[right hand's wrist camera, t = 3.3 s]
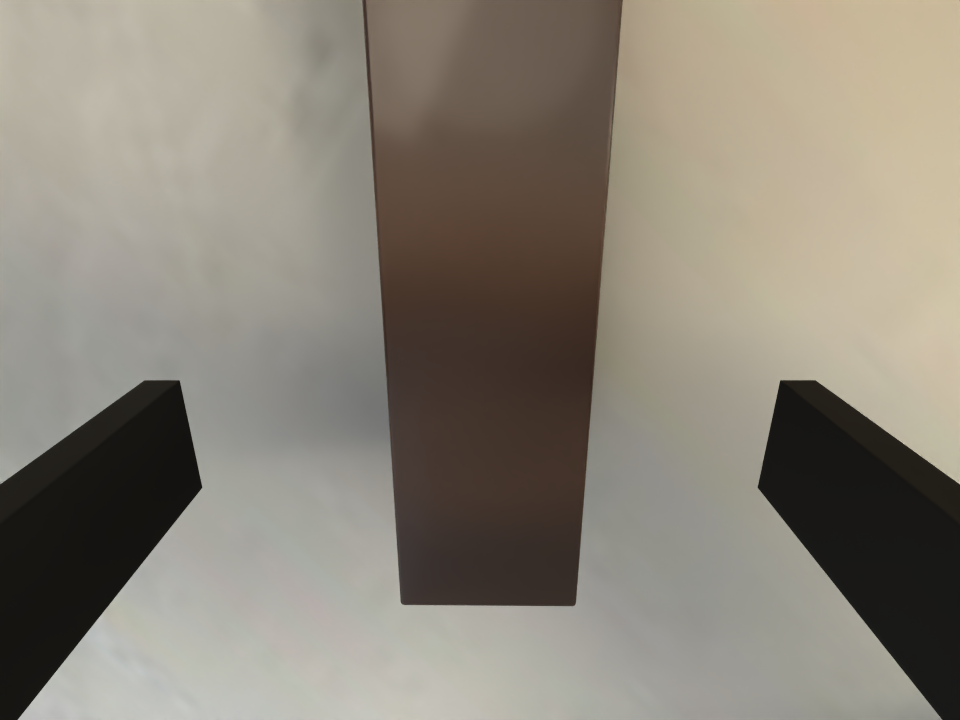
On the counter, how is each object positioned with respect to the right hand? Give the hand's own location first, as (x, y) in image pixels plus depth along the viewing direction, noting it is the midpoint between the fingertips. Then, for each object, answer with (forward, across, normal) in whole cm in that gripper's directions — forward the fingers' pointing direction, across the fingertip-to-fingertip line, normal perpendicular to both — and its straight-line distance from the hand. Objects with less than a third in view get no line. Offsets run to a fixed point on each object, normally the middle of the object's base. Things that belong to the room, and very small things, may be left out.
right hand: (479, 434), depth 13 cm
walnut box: (+11, 0, -9) cm, 14 cm away
